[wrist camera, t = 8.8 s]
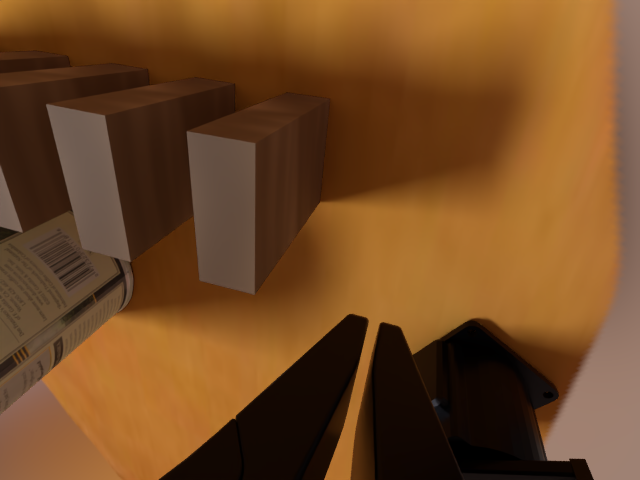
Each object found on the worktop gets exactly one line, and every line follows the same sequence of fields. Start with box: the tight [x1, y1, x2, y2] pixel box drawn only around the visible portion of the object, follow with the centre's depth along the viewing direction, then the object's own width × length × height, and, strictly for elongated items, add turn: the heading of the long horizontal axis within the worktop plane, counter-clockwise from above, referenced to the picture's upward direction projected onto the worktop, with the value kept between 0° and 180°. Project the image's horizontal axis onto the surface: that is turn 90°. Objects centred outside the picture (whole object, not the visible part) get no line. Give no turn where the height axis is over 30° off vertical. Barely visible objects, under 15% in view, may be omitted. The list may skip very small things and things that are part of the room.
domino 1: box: [0, 63, 149, 233], centre depth 16 cm, size 2×5×8 cm, turn 173°
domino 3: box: [187, 93, 330, 295], centre depth 15 cm, size 2×5×8 cm, turn 174°
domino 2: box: [46, 77, 235, 262], centre depth 15 cm, size 2×5×8 cm, turn 174°
